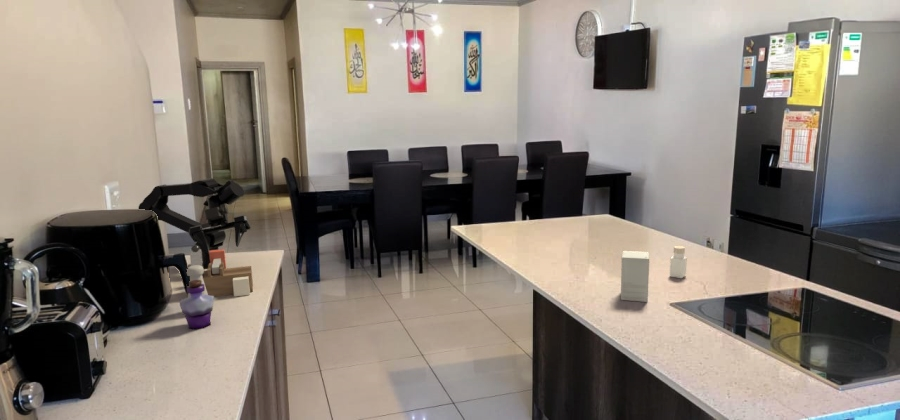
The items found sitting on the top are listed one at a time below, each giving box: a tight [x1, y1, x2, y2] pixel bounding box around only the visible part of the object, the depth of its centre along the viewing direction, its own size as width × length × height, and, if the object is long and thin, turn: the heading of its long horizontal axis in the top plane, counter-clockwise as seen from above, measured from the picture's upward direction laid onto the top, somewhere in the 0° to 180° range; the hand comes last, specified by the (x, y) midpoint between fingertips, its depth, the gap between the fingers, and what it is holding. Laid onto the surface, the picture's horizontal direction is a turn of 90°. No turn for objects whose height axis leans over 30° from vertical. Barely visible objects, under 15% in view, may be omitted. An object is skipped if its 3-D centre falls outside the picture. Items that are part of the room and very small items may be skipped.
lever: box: [189, 244, 203, 277], centre depth 171 cm, size 2×3×10 cm
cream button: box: [233, 276, 251, 297], centre depth 173 cm, size 2×4×5 cm, turn 108°
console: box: [203, 262, 254, 297], centre depth 176 cm, size 8×18×8 cm, turn 108°
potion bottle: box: [179, 280, 215, 331], centre depth 149 cm, size 9×9×12 cm
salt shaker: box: [186, 265, 208, 298], centre depth 159 cm, size 6×6×13 cm
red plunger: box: [209, 248, 227, 274], centre depth 179 cm, size 13×4×6 cm, turn 18°
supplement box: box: [620, 250, 650, 303], centre depth 163 cm, size 7×7×13 cm
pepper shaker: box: [669, 245, 688, 279], centre depth 181 cm, size 4×4×10 cm
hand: (222, 249), depth 190 cm, fingers open, 9 cm apart
